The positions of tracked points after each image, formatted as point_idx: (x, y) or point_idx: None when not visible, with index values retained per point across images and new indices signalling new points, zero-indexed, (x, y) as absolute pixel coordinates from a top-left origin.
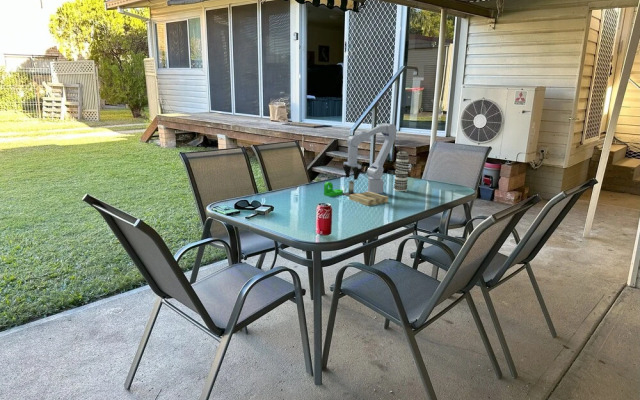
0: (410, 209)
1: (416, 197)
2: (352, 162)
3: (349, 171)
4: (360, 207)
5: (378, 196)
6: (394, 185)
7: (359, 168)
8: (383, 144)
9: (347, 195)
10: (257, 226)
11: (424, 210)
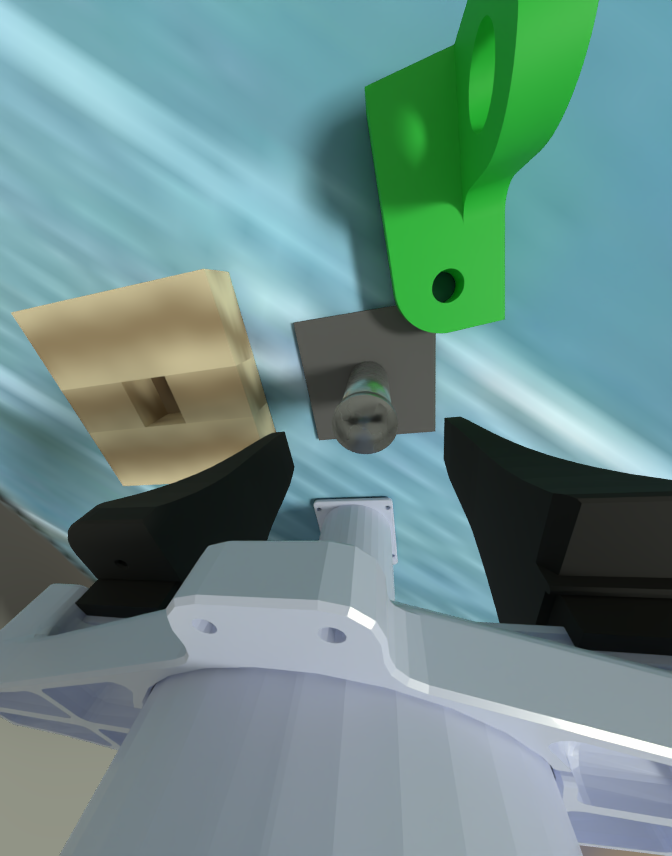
0: (20, 470)
1: None
2: (67, 849)
3: (474, 523)
4: (3, 229)
5: (136, 448)
6: None
7: (60, 597)
8: None
9: (343, 330)
10: None
11: (15, 504)
